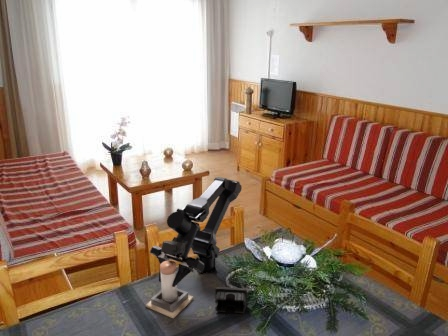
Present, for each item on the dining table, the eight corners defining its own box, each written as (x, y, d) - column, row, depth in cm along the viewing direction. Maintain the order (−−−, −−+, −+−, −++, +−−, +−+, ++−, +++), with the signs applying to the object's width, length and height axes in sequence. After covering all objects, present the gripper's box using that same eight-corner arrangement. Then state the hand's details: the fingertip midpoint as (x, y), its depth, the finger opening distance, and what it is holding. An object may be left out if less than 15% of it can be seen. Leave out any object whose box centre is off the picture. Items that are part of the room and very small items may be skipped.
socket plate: (167, 288, 131) (166, 281, 130) (193, 298, 126) (193, 291, 125) (146, 306, 122) (145, 299, 121) (173, 318, 117) (173, 311, 116)
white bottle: (170, 292, 127) (168, 258, 123) (180, 298, 124) (179, 264, 120) (159, 299, 123) (156, 265, 119) (169, 306, 120) (167, 271, 116)
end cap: (246, 301, 125) (247, 284, 123) (246, 316, 118) (246, 298, 116) (216, 300, 125) (216, 282, 123) (214, 314, 119) (214, 296, 117)
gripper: (151, 223, 124) (130, 269, 118) (198, 237, 115) (178, 287, 110) (167, 234, 133) (148, 277, 127) (212, 248, 124) (194, 295, 119)
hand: (166, 284), depth 120 cm, fingers closed on white bottle, 5 cm apart
